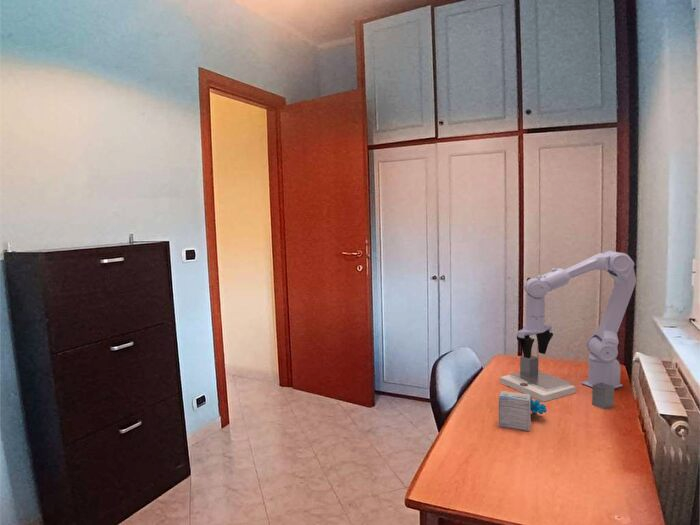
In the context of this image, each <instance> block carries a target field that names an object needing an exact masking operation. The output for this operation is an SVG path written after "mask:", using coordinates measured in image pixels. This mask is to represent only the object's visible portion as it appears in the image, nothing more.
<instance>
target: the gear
mask: <svg viewBox="0 0 700 525" xmlns="http://www.w3.org/2000/svg"><path fill="white" fill-rule="evenodd" d="M547 410H548V409H547V406H546V405H545V404H544V403H541V401H540V400H538V399H535V400H533V397H531V414H535V415H536V414H537V413H538V414H540V415H544V413H547Z"/></svg>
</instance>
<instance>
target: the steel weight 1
mask: <svg viewBox="0 0 700 525" xmlns="http://www.w3.org/2000/svg"><path fill="white" fill-rule="evenodd" d="M519 361H520V365H519V372H520V374H522V375H525V376H527V377H533V376H537V375H538V371H539V357H537V356H534V355H532V354H531V357H530V358H525V357H524V355H520V357H519Z"/></svg>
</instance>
